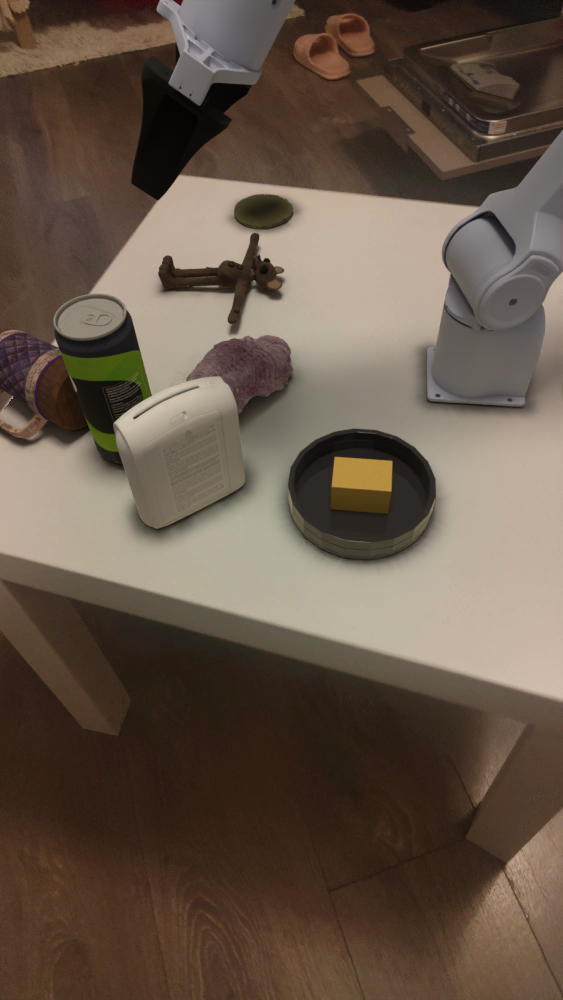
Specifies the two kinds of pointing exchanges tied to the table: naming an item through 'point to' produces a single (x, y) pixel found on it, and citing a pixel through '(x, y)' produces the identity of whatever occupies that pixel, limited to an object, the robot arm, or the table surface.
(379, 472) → the cheese
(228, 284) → the bear figurine
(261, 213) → the olive green flat disc
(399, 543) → the pan
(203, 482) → the photo printer
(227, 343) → the fossil
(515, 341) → the robot arm
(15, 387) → the mug
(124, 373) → the beverage can
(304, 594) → the table surface
